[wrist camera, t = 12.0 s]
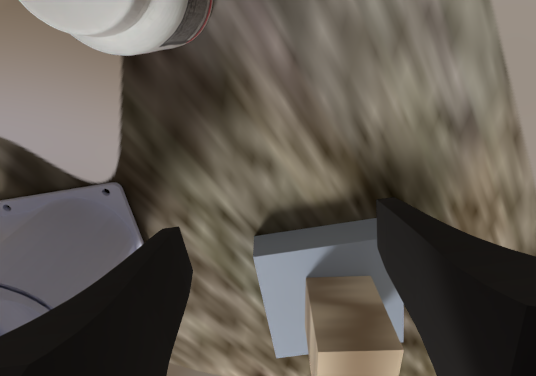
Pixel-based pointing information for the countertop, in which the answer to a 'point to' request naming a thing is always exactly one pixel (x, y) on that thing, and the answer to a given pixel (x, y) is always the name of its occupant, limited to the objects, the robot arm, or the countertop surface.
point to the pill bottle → (125, 22)
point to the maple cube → (349, 329)
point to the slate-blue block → (317, 275)
